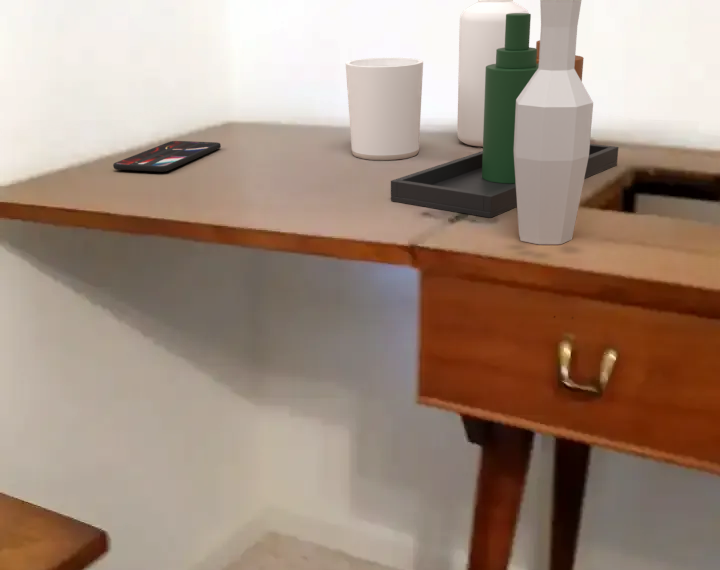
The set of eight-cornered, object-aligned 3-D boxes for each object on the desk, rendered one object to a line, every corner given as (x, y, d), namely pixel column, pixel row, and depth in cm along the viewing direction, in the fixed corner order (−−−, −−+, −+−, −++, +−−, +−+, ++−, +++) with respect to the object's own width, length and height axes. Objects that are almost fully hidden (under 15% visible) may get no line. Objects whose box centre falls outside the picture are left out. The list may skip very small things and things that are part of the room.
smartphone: (222, 142, 122) (165, 167, 109) (223, 147, 122) (166, 173, 109) (171, 140, 124) (109, 164, 111) (172, 145, 124) (110, 170, 111)
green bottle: (549, 175, 103) (560, 12, 95) (520, 186, 99) (529, 17, 91) (500, 168, 106) (507, 10, 99) (470, 179, 102) (475, 15, 95)
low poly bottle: (589, 230, 86) (613, -48, 76) (573, 250, 81) (597, -46, 70) (519, 224, 88) (533, -47, 78) (499, 243, 83) (511, -44, 73)
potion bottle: (493, 151, 116) (499, -14, 108) (443, 142, 122) (445, -16, 114) (537, 141, 121) (547, -18, 113) (487, 133, 127) (493, -20, 118)
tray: (616, 165, 109) (618, 146, 108) (490, 218, 90) (491, 196, 89) (525, 153, 115) (526, 136, 114) (390, 200, 97) (390, 180, 96)
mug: (436, 155, 115) (438, 62, 111) (371, 164, 112) (369, 69, 107) (389, 140, 124) (388, 54, 119) (327, 148, 120) (324, 60, 115)
